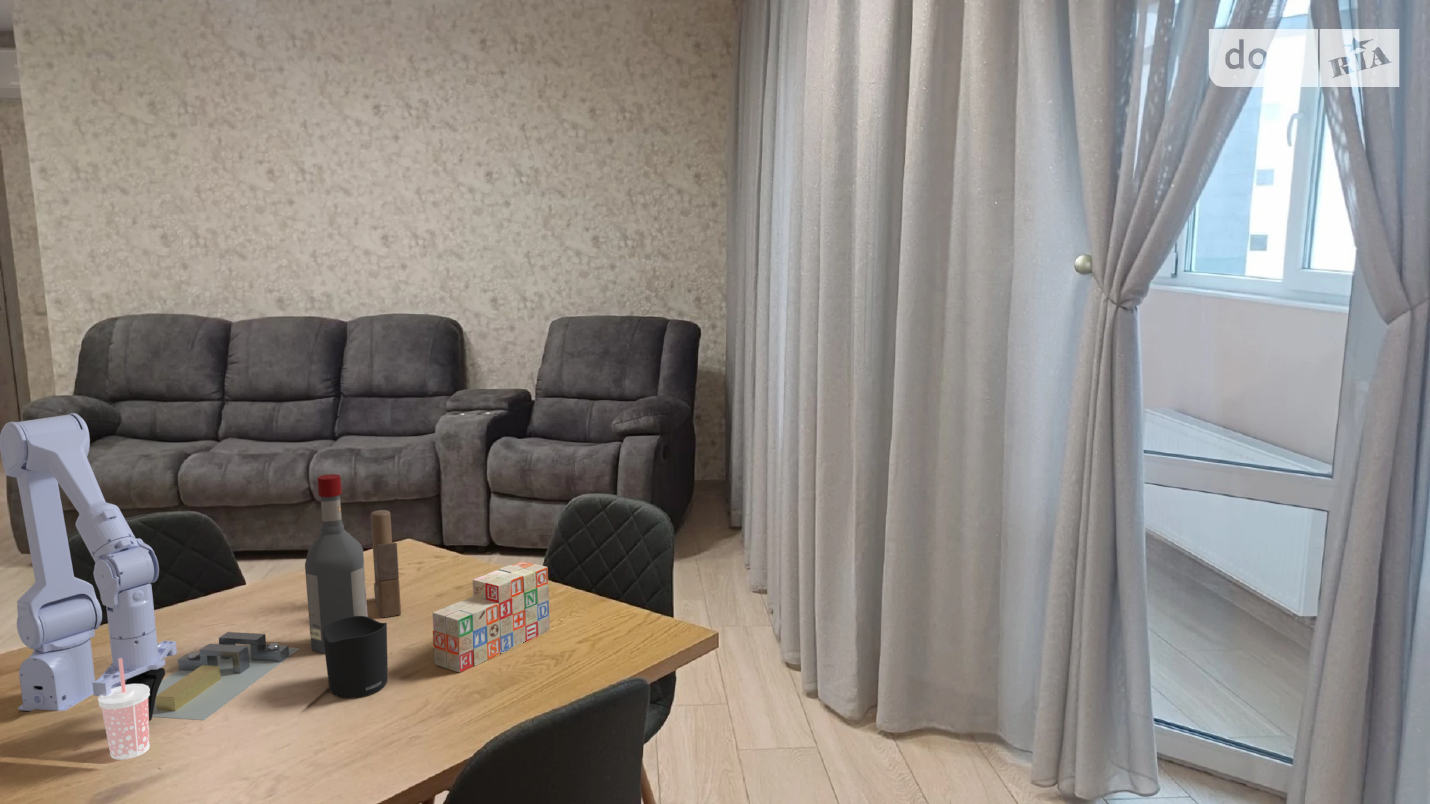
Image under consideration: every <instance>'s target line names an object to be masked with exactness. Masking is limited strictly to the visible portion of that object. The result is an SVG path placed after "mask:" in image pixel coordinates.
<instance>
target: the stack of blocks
mask: <svg viewBox="0 0 1430 804" xmlns="http://www.w3.org/2000/svg"><path fill="white" fill-rule="evenodd" d="M550 622H551V621H550V585H549V568H548V566H544V565H542V564H536V563H532V562H528V561H524V560H523V561H519V562H516V563H514V564H512V565H511V564H509V565H506V566H504V567H500V568H499V569H498V570H497V569H496V570H493V571H491V572H489V573H486V574H484V575H481V576H479V577H476V578H473V579H472V597H469V598H466V599H464V600H461V601H458V602H456V603H453V604H450V605H448V606H446V607H443V608H440V609H438V610H436V611H433V612H432V641H433V642H432V644H433V659H434V665H435V666H439V667H443V668H444V669H447V670H450V671H454V672H457V673H462V672H465V671H466V670H469V669H471V668H472V667H475V666H478V665H480V664H482V662H483V663H485V662H487V661H489V660H491V659H493V658H495V657H494V656H496V655H498V654H500V653H501V652H504V651H506V652H507V650H508V649H510V648H511V647H514V646H516V645H518V644H521V643H523V642H525V641H528V642H530V641H531V639H532V638H534V637H536V638H538V637H540V636H539V635H541V634H543V635H545V634H546V633H545V632H547V631H548V630H550V631H551V626H550ZM544 633H545V634H544ZM547 633H548V632H547ZM537 636H538V637H537ZM541 636H542V635H541ZM534 639H535V638H534ZM529 640H530V641H529ZM532 640H533V639H532ZM525 643H526V642H525ZM523 644H524V643H523ZM521 645H522V644H521ZM518 646H519V645H518ZM516 647H517V646H516ZM514 648H515V647H514ZM510 650H511V649H510ZM508 651H509V650H508ZM504 653H505V652H504ZM500 655H501V654H500ZM498 656H499V655H498ZM496 657H497V656H496ZM490 658H491V659H490ZM488 659H489V660H488ZM486 660H487V661H486ZM484 661H485V662H484Z"/></svg>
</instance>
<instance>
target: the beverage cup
mask: <svg viewBox="0 0 1430 804" xmlns="http://www.w3.org/2000/svg"><path fill="white" fill-rule="evenodd" d="M118 662H119V671H120V680H121V686H118V687H114V688H112V689H111V694H109V695H107V696H103V695H100V696H97V701H98V706H99V708H101V713H102V718H103V722H104V727H105V734H106V739H107V744H108V749H109V755H110V757H111V758H112V759H114V760H121V761H122V760H130V759H133V758H137V757H139V756H141V755H144V754H145V753H146V752H147V751H148V750H149V749H150V747H151V746H150V745H151V744H150V721H149V710H148V697H149V695H150V693H149V691H150V688H149V687H148V686H147V685H144V684H128V685H125V679H124V670H123V661H122V658H119V659H118Z"/></svg>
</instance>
